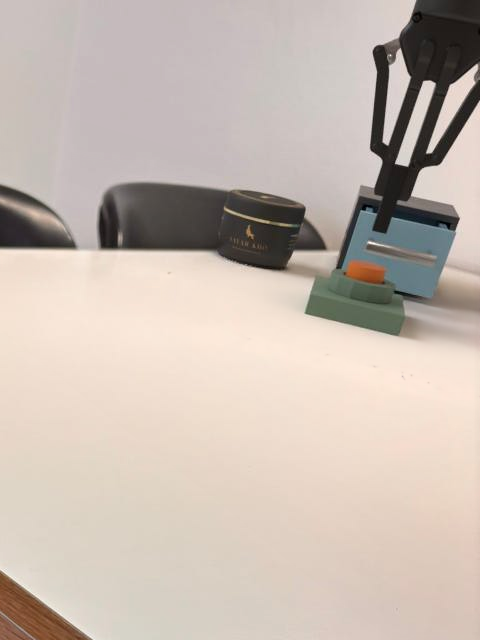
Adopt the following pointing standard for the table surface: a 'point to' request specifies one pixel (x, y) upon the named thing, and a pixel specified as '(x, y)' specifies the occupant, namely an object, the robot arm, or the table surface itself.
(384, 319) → the panel
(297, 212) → the jar
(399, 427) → the table surface
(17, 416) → the table surface
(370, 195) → the drawer cabinet
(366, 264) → the button
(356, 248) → the drawer
